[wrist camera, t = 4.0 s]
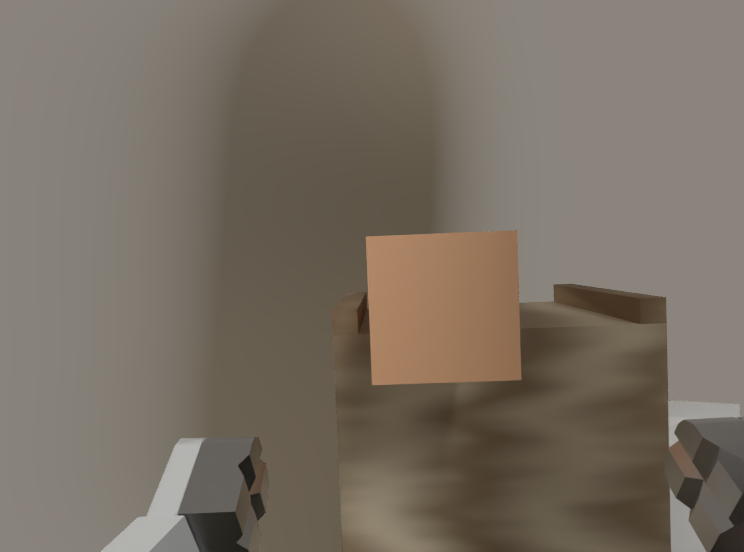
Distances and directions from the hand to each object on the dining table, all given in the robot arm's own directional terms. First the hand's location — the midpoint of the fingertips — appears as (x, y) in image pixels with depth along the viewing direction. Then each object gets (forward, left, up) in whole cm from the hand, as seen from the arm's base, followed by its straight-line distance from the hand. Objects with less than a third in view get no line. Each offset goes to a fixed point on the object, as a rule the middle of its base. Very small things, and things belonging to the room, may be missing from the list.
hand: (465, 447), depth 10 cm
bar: (0, -13, +1) cm, 13 cm away
